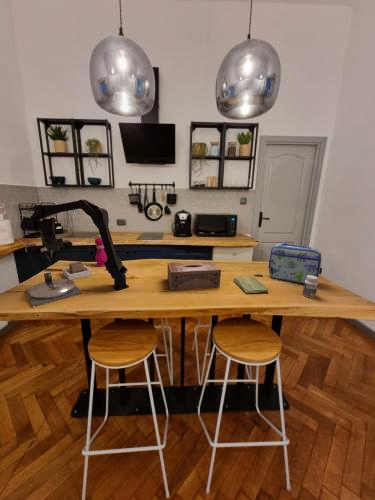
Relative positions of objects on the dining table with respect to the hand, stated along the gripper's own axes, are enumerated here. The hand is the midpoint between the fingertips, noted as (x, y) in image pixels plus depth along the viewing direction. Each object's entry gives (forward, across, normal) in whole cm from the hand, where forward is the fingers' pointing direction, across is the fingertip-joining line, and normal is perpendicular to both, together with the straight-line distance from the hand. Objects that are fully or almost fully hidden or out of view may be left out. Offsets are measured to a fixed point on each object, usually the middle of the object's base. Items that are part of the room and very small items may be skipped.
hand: (52, 263), depth 104 cm
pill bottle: (+12, +89, -90) cm, 128 cm away
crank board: (+12, -2, -8) cm, 15 cm away
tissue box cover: (+12, +56, -43) cm, 71 cm away
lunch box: (+12, +103, -76) cm, 129 cm away
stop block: (+12, +13, +8) cm, 19 cm away
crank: (+11, -3, -8) cm, 13 cm away
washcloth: (+13, +76, -66) cm, 101 cm away
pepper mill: (+12, +30, +16) cm, 36 cm away
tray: (+12, +13, +8) cm, 20 cm away
